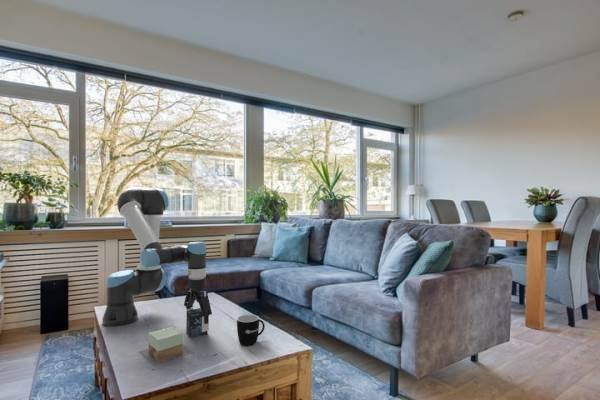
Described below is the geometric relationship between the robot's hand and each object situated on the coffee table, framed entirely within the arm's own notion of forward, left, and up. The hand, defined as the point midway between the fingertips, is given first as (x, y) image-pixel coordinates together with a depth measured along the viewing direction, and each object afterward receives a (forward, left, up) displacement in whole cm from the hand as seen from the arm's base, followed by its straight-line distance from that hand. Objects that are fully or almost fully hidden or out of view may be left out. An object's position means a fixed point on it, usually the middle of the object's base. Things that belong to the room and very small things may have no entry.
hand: (197, 327), depth 145 cm
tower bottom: (+10, -18, -3) cm, 21 cm away
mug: (+23, +12, -4) cm, 26 cm away
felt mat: (+8, -17, -3) cm, 19 cm away
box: (0, 0, -4) cm, 4 cm away
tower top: (+10, -18, +1) cm, 20 cm away
